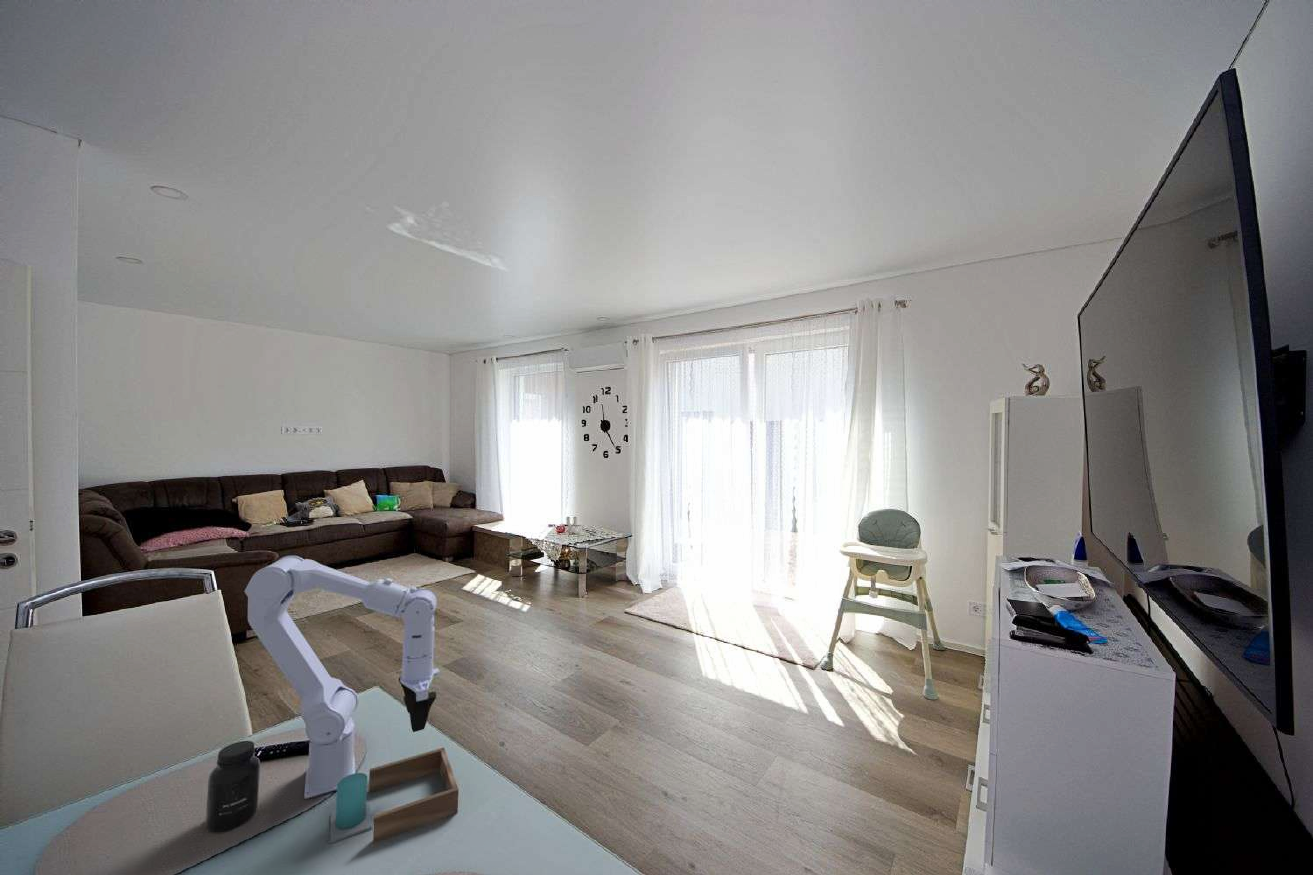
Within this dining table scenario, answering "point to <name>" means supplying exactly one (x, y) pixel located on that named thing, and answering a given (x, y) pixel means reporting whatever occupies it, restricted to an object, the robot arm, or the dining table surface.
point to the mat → (341, 834)
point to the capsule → (351, 801)
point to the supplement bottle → (233, 788)
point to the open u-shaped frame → (420, 809)
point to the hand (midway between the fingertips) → (415, 720)
